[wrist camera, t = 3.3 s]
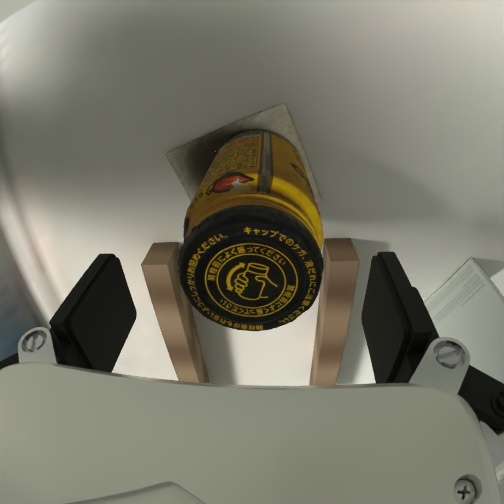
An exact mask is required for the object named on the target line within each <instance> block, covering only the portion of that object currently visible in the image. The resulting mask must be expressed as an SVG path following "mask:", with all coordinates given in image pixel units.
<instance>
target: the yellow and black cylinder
mask: <svg viewBox="0 0 504 504" xmlns="http://www.w3.org/2000/svg"><path fill="white" fill-rule="evenodd" d="M215 150H216V152H214V151H215ZM166 156H167V158H168V159H169V161H170V163H171V165H172V166H173V168H174V170H175V172H176V173H177V175H178V177H179V179H180V181H181V183H182V185H183V186H184V188H185V190H186V192H187V194H188V195H189V197H190V199H191V201H192V202H191V204H190V206H189V208H188V210H187V213H186V217H185V222H184V245H183V246H182V247H181V250H180V256H179V258H178V266H179V271H178V273H179V280H180V284H181V287H182V289H183V291H184V293H185V295H186V296H187V298H188V299H189V301H190V303H191V304H192V305H193V306H194V307H195V308H196V309H197V310H198V311H199V312H200V313H201V314H202V315H203V316H204V317H206V318H207V319H210V320H212V321H214V322H216V323H218V324H220V325H223V326H225V327H229V328H233V329H237V330H248V331H261V330H269V329H273V328H277V327H279V326H282V325H285V324H287V323H289V322H292V321H294V320H295V319H296V318H297V317H298V316H300V315H301V314H302V313H304V312H305V311H307V310H308V309H309V308H310V307H311V306H312V304H313V303H314V301H315V299H316V297H317V295H318V292H319V289H320V285H321V282H322V273H323V269H324V261H323V258H322V255H321V248H322V243H323V230H322V222H321V217H320V213H319V211H318V207H317V203H321V202H322V200H321V197H320V194H319V191H318V188H317V185H316V182H315V180H314V177H313V174H312V171H311V169H310V166H309V163H308V161H307V158H306V155H305V153H304V150H303V147H302V145H301V142H300V140H299V137H298V134H297V132H296V129H295V127H294V125H293V122H292V119H291V117H290V114H289V112H288V110H287V107H286V105H285V103H284V104H281V105H278V106H276V107H273V108H270V109H267V110H265V111H262V112H259V113H257V114H254V115H252V116H249V117H247V118H244V119H242V120H239V121H237V122H235V123H232V124H230V125H227V126H225V127H223V128H220V129H218V130H216V131H214V132H212V133H209V134H207V135H205V136H202V137H200V138H198V139H196V140H193V141H191V142H189V143H187V144H185V145H183V146H181V147H179V148H177V149H175V150H172V151H170V152H168V153H166Z"/></svg>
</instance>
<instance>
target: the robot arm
mask: <svg viewBox="0 0 504 504" xmlns="http://www.w3.org/2000/svg"><path fill="white" fill-rule="evenodd" d="M136 314H137V313H136V309H135V306H134V303H133V300H132V297H131V294H130V291H129V288H128V285H127V282H126V279H125V275H124V272H123V269H122V266H121V263H120V260H119V258H117V257H116V256H115V255H114V254H99V255H98V256H97V258H96V259H95V260H94V261H93V263H92V264H91V265H90V267H89V268H88V269H87V270H86V272H85V273H84V274H83V276H82V277H81V278H80V280H79V281H78V282H77V284H76V285H75V286H74V288H73V289H72V290H71V292H70V293H69V295H68V296H67V297H66V299H65V300H64V302H63V303H62V304H61V306H60V307H59V309H58V310H57V311H56V313H55V314H54V316H53V317H52V319H51V320H50V322H49V323H50V325H51V329H50V330H48V329H47V328H44V327H37V328H34V329H31V330H29V331H28V332H27V333H25V334H24V335H23V336H22V338H21V339H20V341H19V343H18V353H16V354H14V355H12V356H10V357H8V358H6V359H4V360H2V361H0V504H504V384H503V383H502V382H500V381H498V380H496V379H494V378H493V377H491V376H489V375H487V374H486V373H484V372H482V371H480V370H478V369H477V368H475V367H473V366H471V365H469V364H470V353H469V351H468V349H467V347H466V346H465V345H464V344H463V343H462V342H460V341H458V340H457V339H454V338H451V337H439V334H438V332H437V330H436V328H435V325H434V323H433V321H432V319H431V317H430V315H429V312H428V310H427V308H426V306H425V304H424V302H423V300H422V298H421V296H420V294H419V292H418V290H417V289H416V288H415V287H412V286H411V284H410V282H409V280H408V278H407V276H406V274H405V272H404V270H403V268H402V266H401V264H400V262H399V260H398V258H397V256H396V254H395V253H394V252H378V254H377V256H373V257H372V262H371V268H370V273H369V279H368V284H367V290H366V295H365V300H364V305H363V310H362V325H363V329H364V333H365V337H366V341H367V345H368V349H369V354H370V358H371V362H372V367H373V371H374V376H375V381H376V383H374V384H353V385H322V386H254V385H229V384H211V383H197V382H185V381H174V380H164V379H155V378H147V377H139V376H131V375H124V374H117V373H111V372H112V370H113V368H114V366H115V363H116V361H117V359H118V357H119V354H120V352H121V350H122V348H123V346H124V343H125V341H126V339H127V337H128V335H129V333H130V330H131V328H132V326H133V324H134V322H135V320H136Z"/></svg>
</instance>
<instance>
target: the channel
mask: <svg viewBox="0 0 504 504" xmlns="http://www.w3.org/2000/svg"><path fill="white" fill-rule="evenodd" d="M179 256H180V253H179V248H178V243H177V242H172V243H153V244H152V246H151V248H150V250H149V251H148V253H147V255H146V257H145V259H144V260H143V262H142V264H141V266H142V270H143V274H144V277H145V281H146V284H147V287H148V291H149V294H150V297H151V301H152V304H153V307H154V310H155V314H156V317H157V320H158V323H159V326H160V329H161V332H162V335H163V338H164V341H165V344H166V347H167V350H168V352H169V355H170V358H171V361H172V364H173V366H174V369H175V372H176V374H177V377H178V380H179V381H185V382H197V383H209V379H208V375H207V371H206V367H205V363H204V360H203V356H202V352H201V348H200V343H199V339H198V335H197V331H196V327H195V323H194V318H193V314H192V310H191V305H190V301H189V299H188V298H187V296H186V295H185V293H184V291H183V289H182V287H181V284H180V280H179V273H178V271H179V266H178V258H179ZM323 261H324V269H323V273H322V282H321V286H320V297H319V307H318V317H317V326H316V335H315V344H314V352H313V360H312V368H311V375H310V386H322V385H335V383H336V379H337V375H338V371H339V366H340V362H341V357H342V353H343V348H344V344H345V339H346V334H347V329H348V324H349V319H350V313H351V308H352V302H353V297H354V291H355V285H356V279H357V272H358V266H359V259H358V256H357V254H356V251H355V249H354V246H353V244H352V242H351V239H350V238H343V239H324V248H323Z"/></svg>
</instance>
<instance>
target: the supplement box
mask: <svg viewBox="0 0 504 504" xmlns="http://www.w3.org/2000/svg"><path fill="white" fill-rule="evenodd" d="M424 304H425V306H426V308H427V310H428V312H429V315H430V317H431V319H432V321H433V323H434V325H435V328H436V330H437V332H438V334H439V337H451V338H454V339H457V340H458V341H460V342H462V343H463V344H464V345H465V346H466V347H467V349H468V351H469V353H470V364H469V365H471V366H473V367H475V368H477V369H478V370H480V371H482V372H484V373H486V374H487V375H489V376H491V377H493V378H494V379H496V380H498V381H500V382H502V383H503V384H504V297H503V296H502V294H501V293H500V292H499V290H498V289H497V287H496V286H495V285H494V283H493V282H492V281H491V280H490V278H489V277H488V276H487V275H486V273H485V272H484V271H483V270H482V269H481V268H480V267H479V265H478V264H477V263H476V262H475V261H474V260H473V259H472V258H470V259H469V260H468V261H467V262H466V263H465V264H464V265H463V266H462V267H461V268H460V269H459V270H458V271H457V272H456V273H455V274H454V275H453V276H452V277H451V278H450V279H449V280H448V281H447V282H446V283H445V284H443V285H442V286H441V287H440V288H439V289H438V290H437V291H436V292H435V293H434V294H433V295H432V296H431V297H430V298H429V299H427V300H426V301H425V302H424Z"/></svg>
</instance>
